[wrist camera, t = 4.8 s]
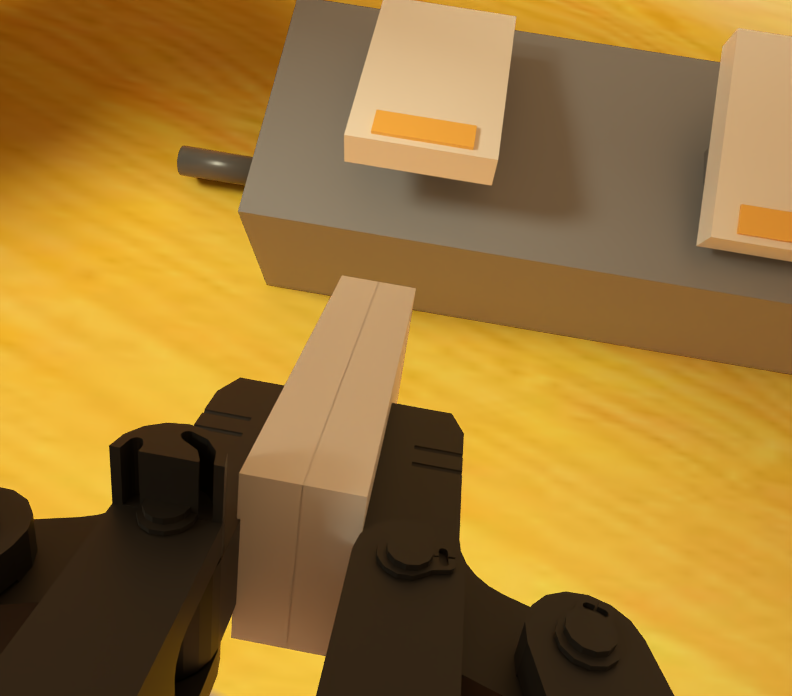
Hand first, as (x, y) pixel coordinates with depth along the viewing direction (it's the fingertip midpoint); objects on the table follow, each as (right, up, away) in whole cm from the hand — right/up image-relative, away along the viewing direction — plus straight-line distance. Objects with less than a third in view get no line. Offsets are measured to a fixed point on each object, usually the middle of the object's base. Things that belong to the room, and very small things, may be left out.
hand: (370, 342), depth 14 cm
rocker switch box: (+6, +7, +25) cm, 27 cm away
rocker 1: (+2, +11, +16) cm, 19 cm away
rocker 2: (+17, +8, +15) cm, 24 cm away
